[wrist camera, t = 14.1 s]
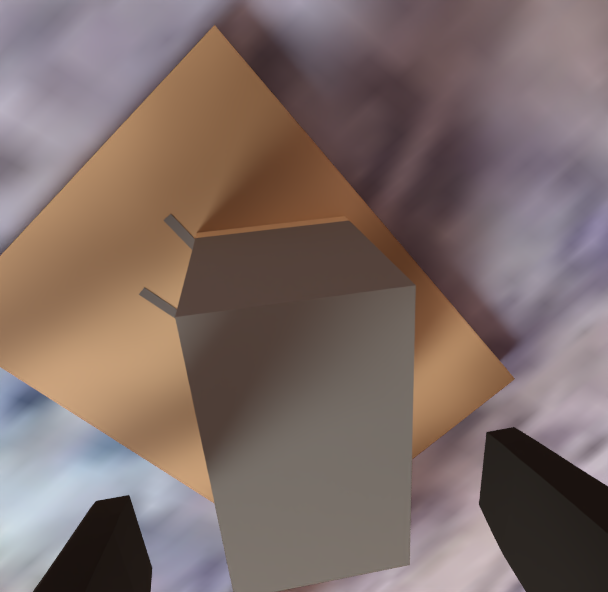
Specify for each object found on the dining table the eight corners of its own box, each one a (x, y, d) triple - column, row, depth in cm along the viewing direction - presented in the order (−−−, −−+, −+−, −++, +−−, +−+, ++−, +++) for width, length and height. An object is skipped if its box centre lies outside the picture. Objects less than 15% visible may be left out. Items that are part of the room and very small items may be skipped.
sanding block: (196, 232, 14) (174, 316, 8) (344, 215, 14) (415, 285, 9) (233, 440, 17) (234, 600, 12) (353, 420, 17) (409, 564, 12)
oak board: (-43, 309, 15) (-65, 325, 14) (215, 31, 13) (214, 24, 12) (289, 529, 21) (292, 553, 20) (498, 363, 19) (515, 379, 18)
